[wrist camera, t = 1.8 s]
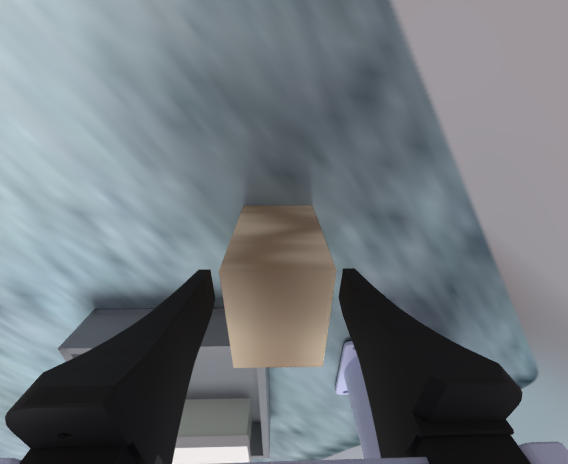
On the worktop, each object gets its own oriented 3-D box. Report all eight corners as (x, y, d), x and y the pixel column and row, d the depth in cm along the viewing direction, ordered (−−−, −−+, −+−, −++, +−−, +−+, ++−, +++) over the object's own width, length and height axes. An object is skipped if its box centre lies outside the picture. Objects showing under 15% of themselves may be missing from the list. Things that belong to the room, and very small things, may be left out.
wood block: (312, 205, 15) (336, 270, 9) (307, 278, 18) (322, 366, 12) (243, 205, 15) (218, 271, 9) (249, 278, 18) (233, 368, 12)
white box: (251, 397, 24) (247, 446, 20) (254, 419, 26) (250, 467, 23) (151, 399, 24) (129, 449, 20) (161, 421, 26) (143, 470, 22)
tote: (266, 307, 19) (264, 345, 16) (270, 418, 27) (269, 458, 24) (94, 309, 19) (57, 348, 16) (151, 421, 27) (134, 461, 24)
